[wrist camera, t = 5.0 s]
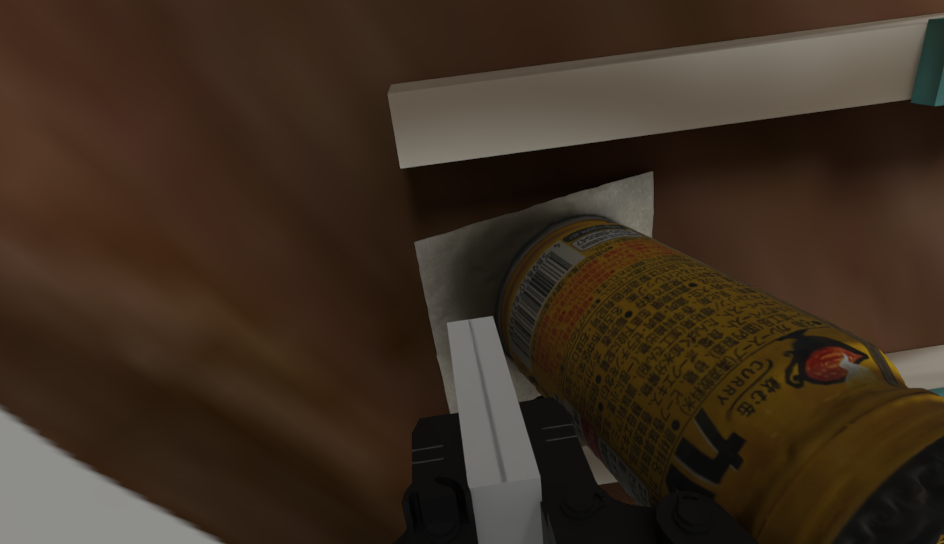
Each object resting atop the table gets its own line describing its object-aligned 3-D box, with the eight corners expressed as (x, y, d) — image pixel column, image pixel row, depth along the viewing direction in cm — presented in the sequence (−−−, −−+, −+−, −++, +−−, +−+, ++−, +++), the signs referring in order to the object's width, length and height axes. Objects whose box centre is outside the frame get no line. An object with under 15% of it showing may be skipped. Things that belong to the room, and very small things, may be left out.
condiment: (650, 347, 22) (1027, 623, 11) (452, 427, 19) (701, 866, 9) (648, 169, 18) (1170, 326, 8) (410, 237, 16) (723, 581, 6)
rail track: (390, 80, 17) (385, 93, 14) (1223, -27, 18) (1389, -38, 15) (454, 461, 23) (460, 526, 20) (1064, 364, 24) (1156, 413, 21)
